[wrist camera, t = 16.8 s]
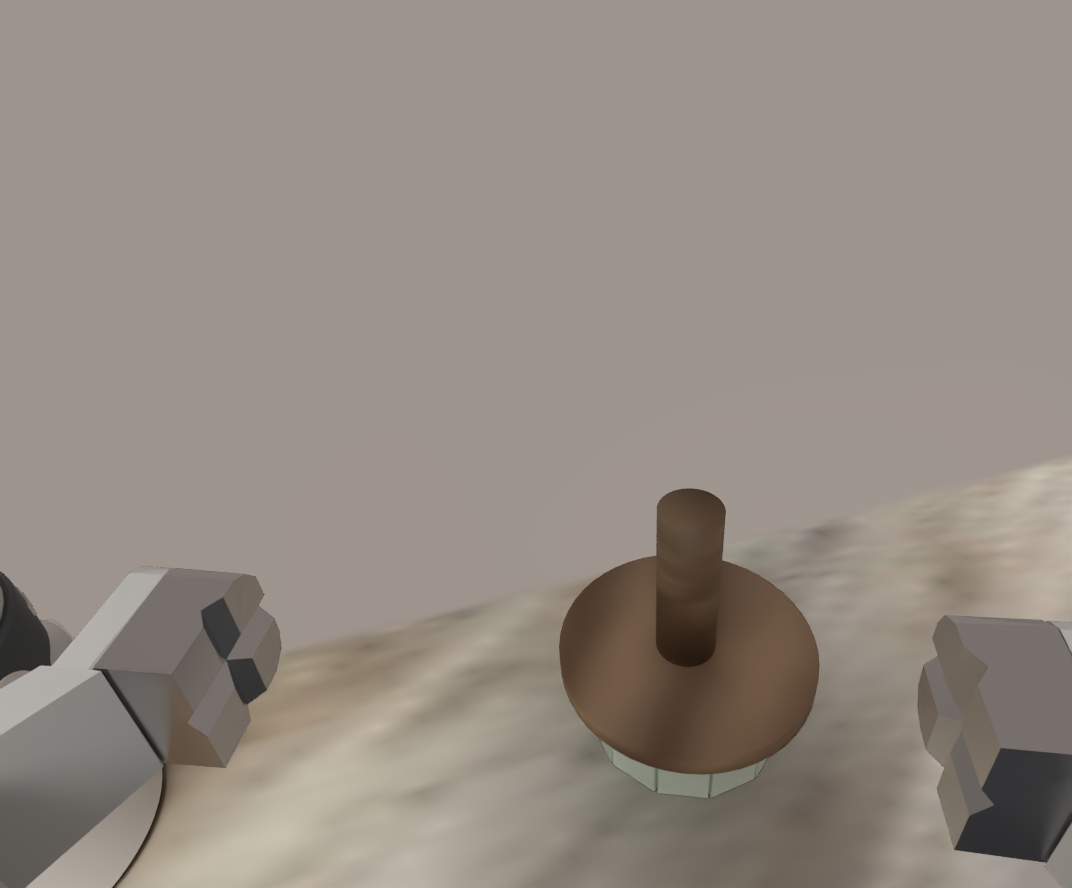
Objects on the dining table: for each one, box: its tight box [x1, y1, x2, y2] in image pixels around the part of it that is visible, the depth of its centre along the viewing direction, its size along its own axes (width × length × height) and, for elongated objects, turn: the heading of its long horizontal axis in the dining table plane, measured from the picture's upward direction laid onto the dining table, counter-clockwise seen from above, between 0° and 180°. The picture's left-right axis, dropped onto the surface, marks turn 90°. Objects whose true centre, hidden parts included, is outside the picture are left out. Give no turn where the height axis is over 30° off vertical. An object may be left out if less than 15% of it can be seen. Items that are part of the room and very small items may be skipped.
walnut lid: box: [559, 489, 819, 775], centre depth 37 cm, size 13×13×10 cm
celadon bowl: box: [600, 739, 768, 798], centre depth 41 cm, size 10×10×4 cm
